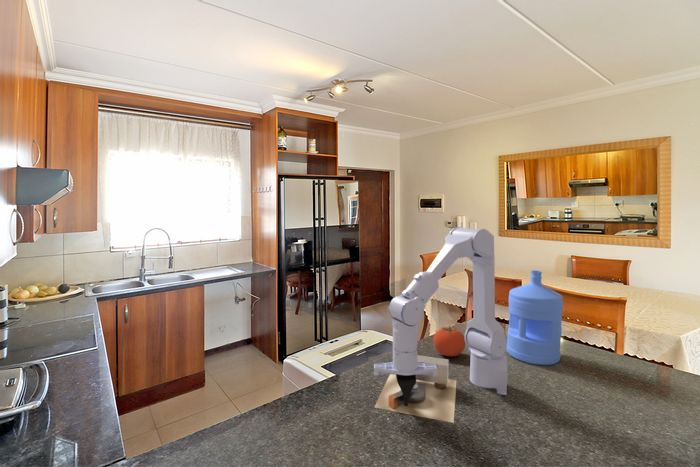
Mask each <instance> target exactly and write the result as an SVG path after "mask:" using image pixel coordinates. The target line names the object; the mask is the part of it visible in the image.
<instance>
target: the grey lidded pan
mask: <svg viewBox="0 0 700 467" xmlns="http://www.w3.org/2000/svg"><path fill="white" fill-rule="evenodd" d="M425 393H426V388H425V386H424V385H423V384H421V383H418V382H416V384H415V385H414V387H413V389H412V391H411V393H410V396H409V399H408V402H409V403H421V402H423V401H424V400H425ZM402 404H404V402H403V394H402V391H399V392H396V393H394V394H391V395H389V406H390V407H391V408H393V409H395V408H397V407H398V406H400V405H402Z"/></svg>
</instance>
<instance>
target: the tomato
mask: <svg viewBox="0 0 700 467" xmlns="http://www.w3.org/2000/svg"><path fill="white" fill-rule="evenodd" d="M464 337H465V334H463V332H461V330H459V329H458V328H456V327H452V326H451V325H449V326H446V327H445V326H443V327H440V328H439V329H438V330H437V331H435V333H434V334H433V338H432V339H433V346H434V347H435V349H436V351H437V352H438V353H439V354H441V355H443V356H446V357H456V356H459V355H460V354H461V353H463V351H464V350H465V348H466V346H467V344H466V343H465V339H464Z"/></svg>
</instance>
